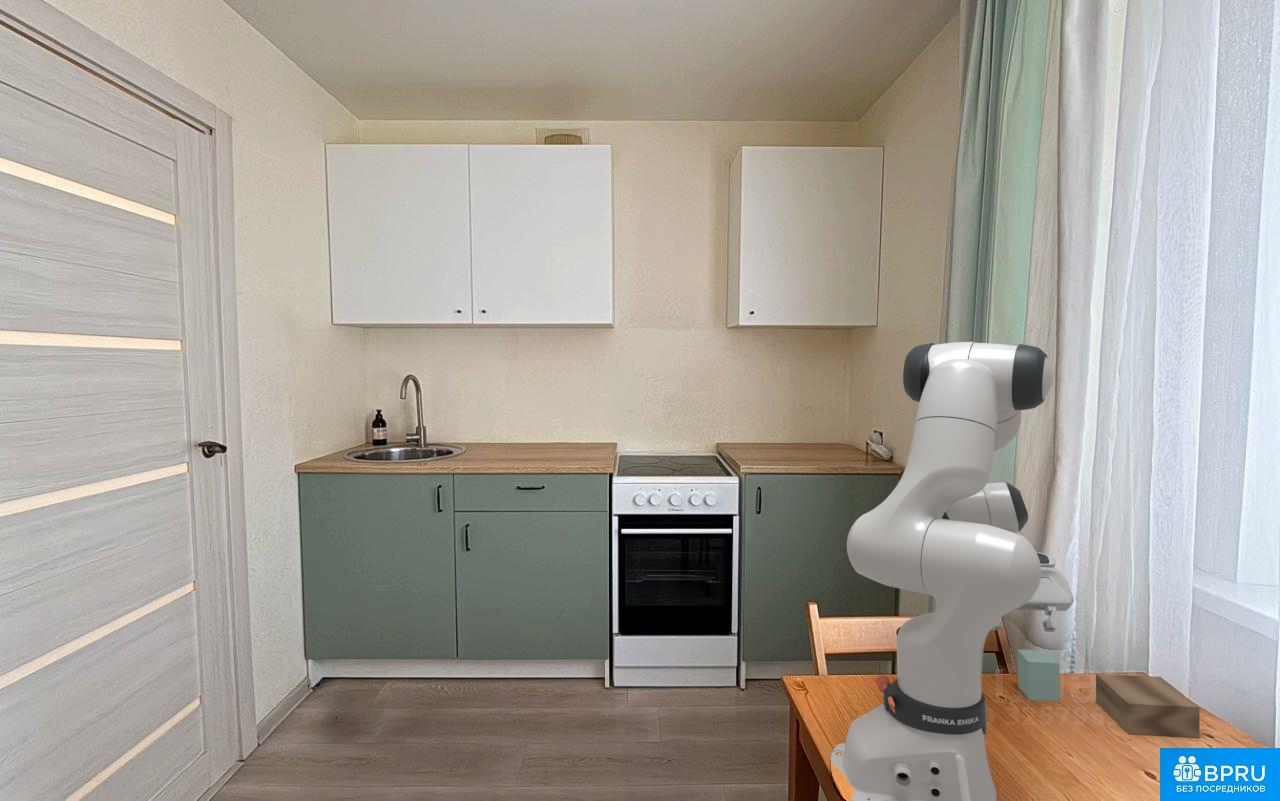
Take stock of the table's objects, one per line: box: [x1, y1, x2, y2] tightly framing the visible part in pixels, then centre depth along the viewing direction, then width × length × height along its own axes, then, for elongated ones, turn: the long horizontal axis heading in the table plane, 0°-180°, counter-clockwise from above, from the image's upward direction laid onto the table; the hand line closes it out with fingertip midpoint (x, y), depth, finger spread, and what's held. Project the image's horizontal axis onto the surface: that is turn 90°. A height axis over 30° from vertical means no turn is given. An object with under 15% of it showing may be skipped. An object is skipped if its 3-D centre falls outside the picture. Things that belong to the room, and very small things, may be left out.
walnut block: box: [1095, 673, 1200, 738], centre depth 106 cm, size 10×10×5 cm
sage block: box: [1016, 649, 1061, 703], centre depth 116 cm, size 5×5×7 cm
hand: (1023, 629), depth 121 cm, fingers open, 8 cm apart
